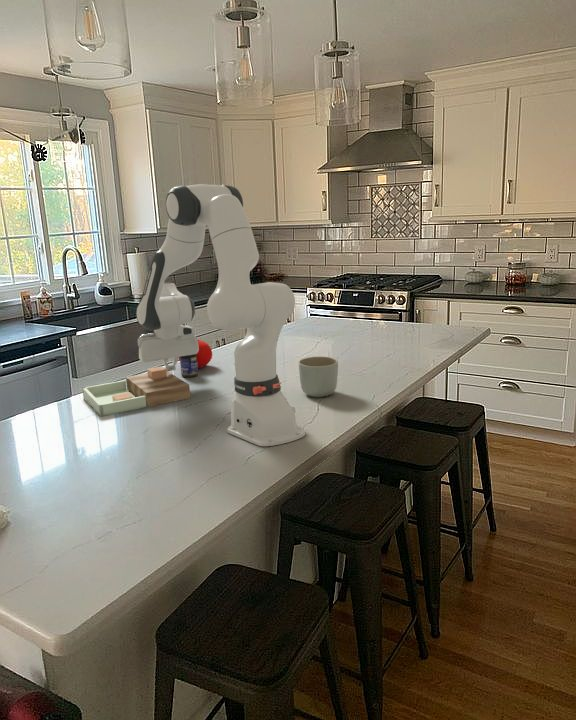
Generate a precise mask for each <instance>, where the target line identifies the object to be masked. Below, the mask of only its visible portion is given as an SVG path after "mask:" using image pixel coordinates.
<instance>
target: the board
mask: <svg viewBox="0 0 576 720" xmlns="http://www.w3.org/2000/svg"><path fill="white" fill-rule="evenodd" d="M125 381H126V389H127V390H129V391H130V393H132V394H133V395H134V396H136V397H140V396H145V398H146V407H148V408H149V407H153V406H158V405H164V404H167V403H172V402H177V401H183V400H187V399H191V390H190V384H189V383H188V382H186V381H184V380H183V379H181V378H179V377H177V376H176V375H174V374H173V373H171V372H170V371H167V377H162V378H157V379H152V378H150V377H149V376H148V373H147V372H146V373H141V374H135V375H130V376H126V377H125Z"/></svg>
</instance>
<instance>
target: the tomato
mask: <svg viewBox="0 0 576 720" xmlns="http://www.w3.org/2000/svg"><path fill="white" fill-rule="evenodd" d="M197 341H198V347H199V351H198V353H197V364H198V369H200V368H203V367H205V366H207V365H208V364H210V362H211V360H212V359H213V351H212V348H211V347H210V345H209V344H208V342H205V341H203V340H201V339H197ZM178 361H180V357H178Z"/></svg>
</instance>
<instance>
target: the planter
mask: <svg viewBox="0 0 576 720" xmlns="http://www.w3.org/2000/svg"><path fill="white" fill-rule="evenodd" d="M298 372H299V373H298V374H299V380H300V386H301V387H300V388H301V389H302V391H303V392H304V394H306V395H307V396H309V397H311V396H312V398H323V397H324V396H326V397H329V396H330V395H332V394H333V393H334V392H335V391H336V389H337V385H338V374H339V360H338V359H337V358H335V357H331V356H310V357H305V358H302V359H300V360H299V361H298ZM328 395H329V396H328Z"/></svg>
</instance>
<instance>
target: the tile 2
mask: <svg viewBox="0 0 576 720" xmlns="http://www.w3.org/2000/svg"><path fill="white" fill-rule="evenodd" d="M146 371H147V372H146V373H148V376H149V377H150V378H152V379H157V378H162V377H167V371H166V367H163V366H156V367H152V368H151V367H150V368H146Z"/></svg>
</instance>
